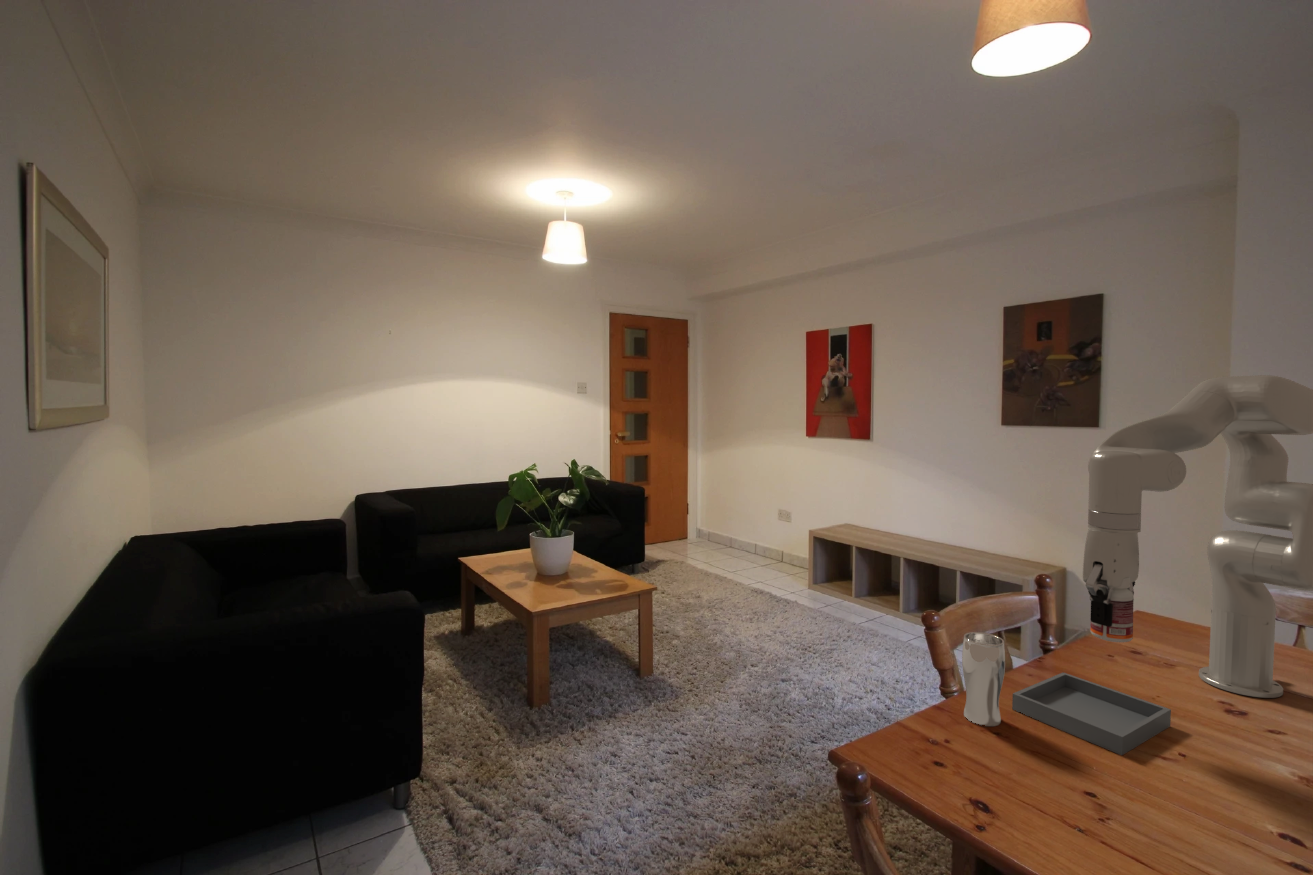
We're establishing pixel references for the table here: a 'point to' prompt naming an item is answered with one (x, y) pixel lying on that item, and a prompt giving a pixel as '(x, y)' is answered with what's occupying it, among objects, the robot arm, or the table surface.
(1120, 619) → the pill bottle
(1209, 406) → the robot arm
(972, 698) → the beer glass
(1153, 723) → the tray
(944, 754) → the table surface
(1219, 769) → the table surface
